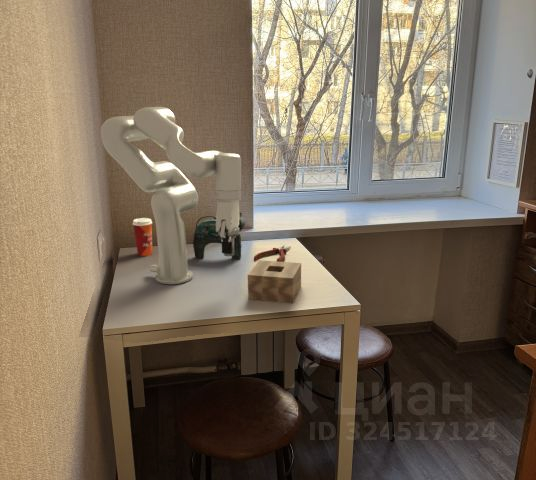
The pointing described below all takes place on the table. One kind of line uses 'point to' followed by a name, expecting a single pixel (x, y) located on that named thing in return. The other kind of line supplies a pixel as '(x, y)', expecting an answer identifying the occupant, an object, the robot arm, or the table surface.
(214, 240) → the ceramic cat
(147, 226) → the paper cup
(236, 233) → the grey metal rounded piece
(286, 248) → the pliers
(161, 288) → the table surface
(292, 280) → the socket block
